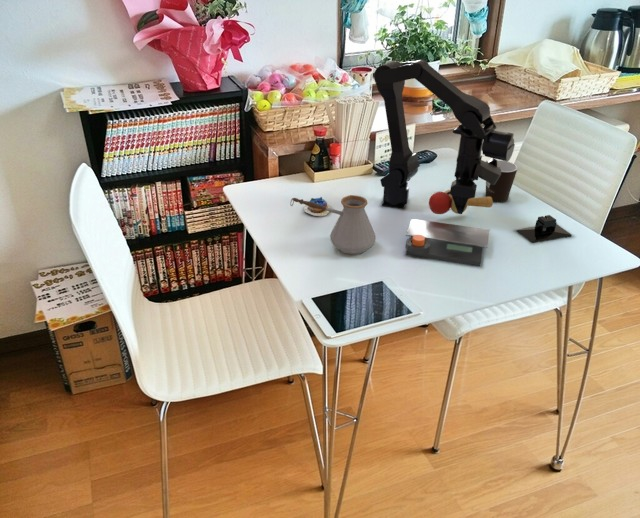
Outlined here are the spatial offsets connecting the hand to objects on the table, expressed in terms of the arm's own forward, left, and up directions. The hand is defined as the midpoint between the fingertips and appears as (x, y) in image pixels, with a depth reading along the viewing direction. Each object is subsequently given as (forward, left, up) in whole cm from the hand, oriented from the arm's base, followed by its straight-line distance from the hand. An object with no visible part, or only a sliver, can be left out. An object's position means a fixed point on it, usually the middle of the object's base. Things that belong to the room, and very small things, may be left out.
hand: (461, 206), depth 160 cm
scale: (-2, -15, -4) cm, 16 cm away
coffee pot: (-29, -24, -5) cm, 38 cm away
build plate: (+22, 0, -5) cm, 22 cm away
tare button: (-8, -20, -2) cm, 22 cm away
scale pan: (-2, -13, -2) cm, 13 cm away
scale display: (+2, -20, -1) cm, 20 cm away
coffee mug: (+9, +20, -5) cm, 22 cm away
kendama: (0, 0, -1) cm, 2 cm away
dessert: (-39, -5, -5) cm, 40 cm away
